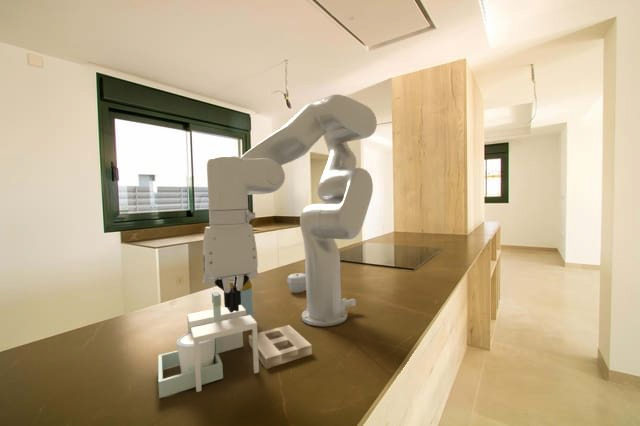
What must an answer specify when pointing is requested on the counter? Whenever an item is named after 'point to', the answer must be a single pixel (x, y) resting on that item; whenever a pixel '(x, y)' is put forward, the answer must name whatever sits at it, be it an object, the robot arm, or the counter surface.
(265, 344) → the board
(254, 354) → the tunnel
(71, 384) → the counter surface
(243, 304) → the bottle
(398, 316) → the counter surface
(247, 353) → the counter surface
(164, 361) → the slider
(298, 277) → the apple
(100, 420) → the counter surface
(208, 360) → the white cup
